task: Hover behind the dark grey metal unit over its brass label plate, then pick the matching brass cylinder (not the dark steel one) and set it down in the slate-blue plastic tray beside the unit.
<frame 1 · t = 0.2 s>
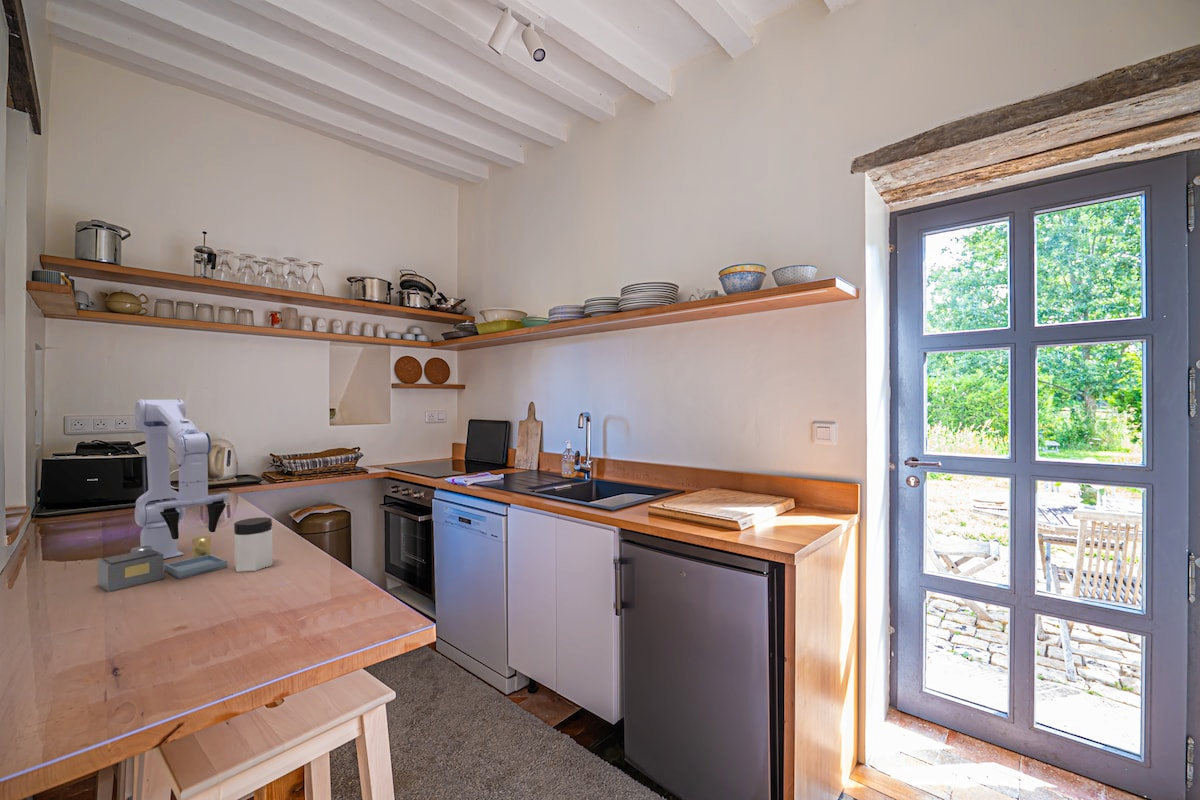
hand: (194, 535, 128), 10 cm above the counter, fingers open, 7 cm apart
part brass: (202, 560, 139), on the counter
tray: (196, 569, 131), on the counter
unit: (131, 581, 122), on the counter
part grey: (141, 571, 130), on the counter
jar: (253, 567, 133), on the counter
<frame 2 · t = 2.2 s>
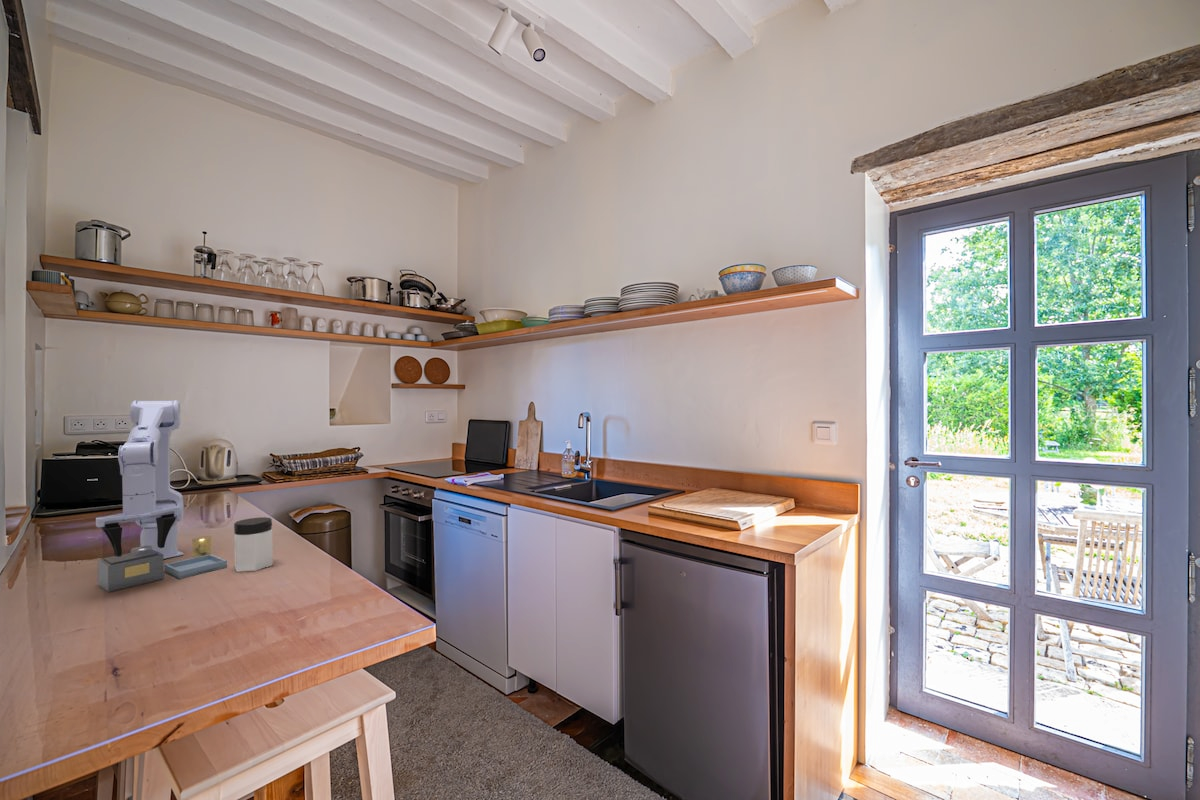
hand: (140, 551, 119), 8 cm above the counter, fingers open, 7 cm apart
nothing on the counter moved.
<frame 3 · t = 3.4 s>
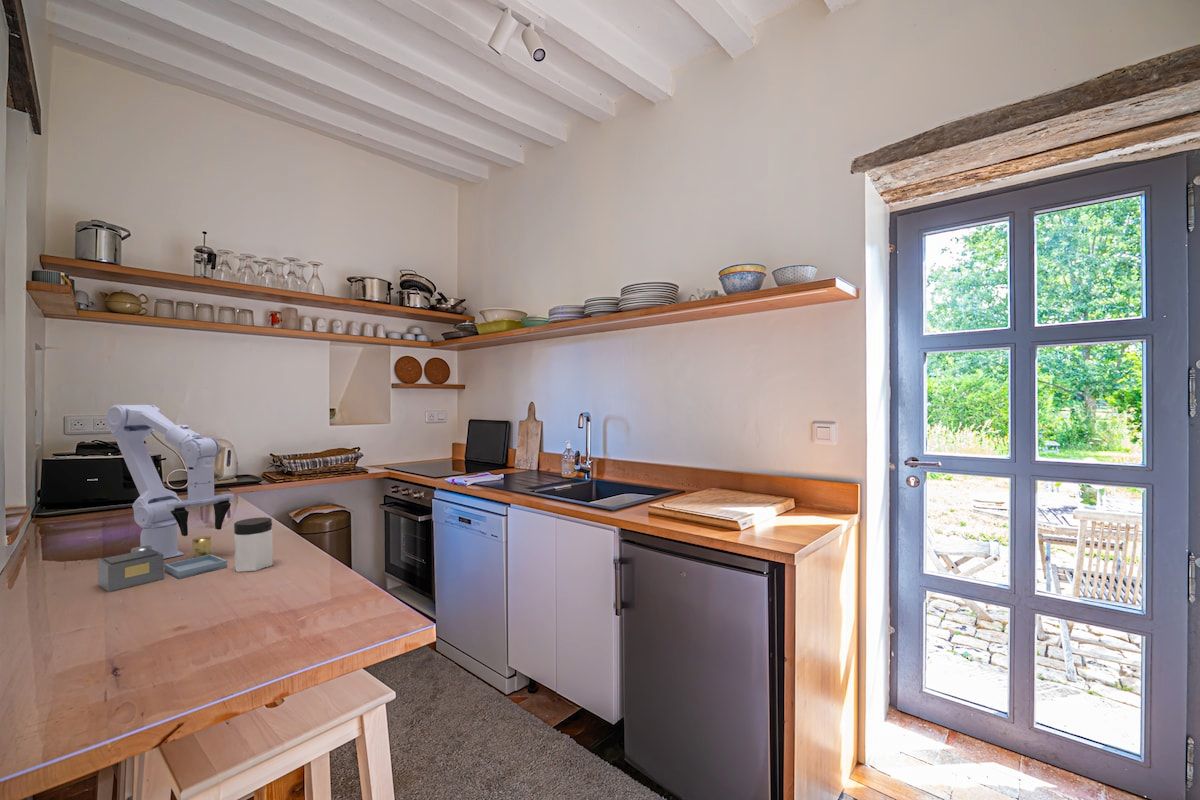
hand: (201, 532, 139), 8 cm above the counter, fingers open, 7 cm apart
nothing on the counter moved.
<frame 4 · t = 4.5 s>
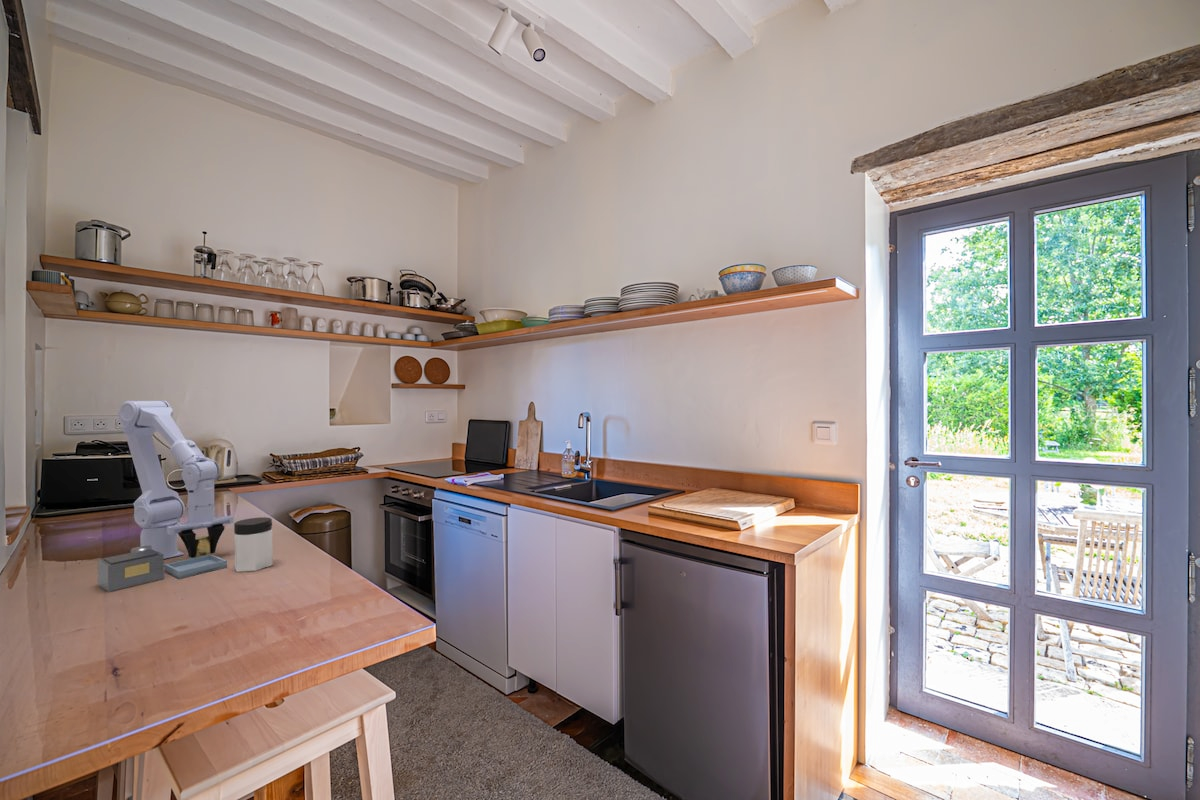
hand: (202, 554, 139), 1 cm above the counter, fingers closed on part brass, 4 cm apart
part brass: (202, 560, 139), on the counter, touching gripper
everything else where it was.
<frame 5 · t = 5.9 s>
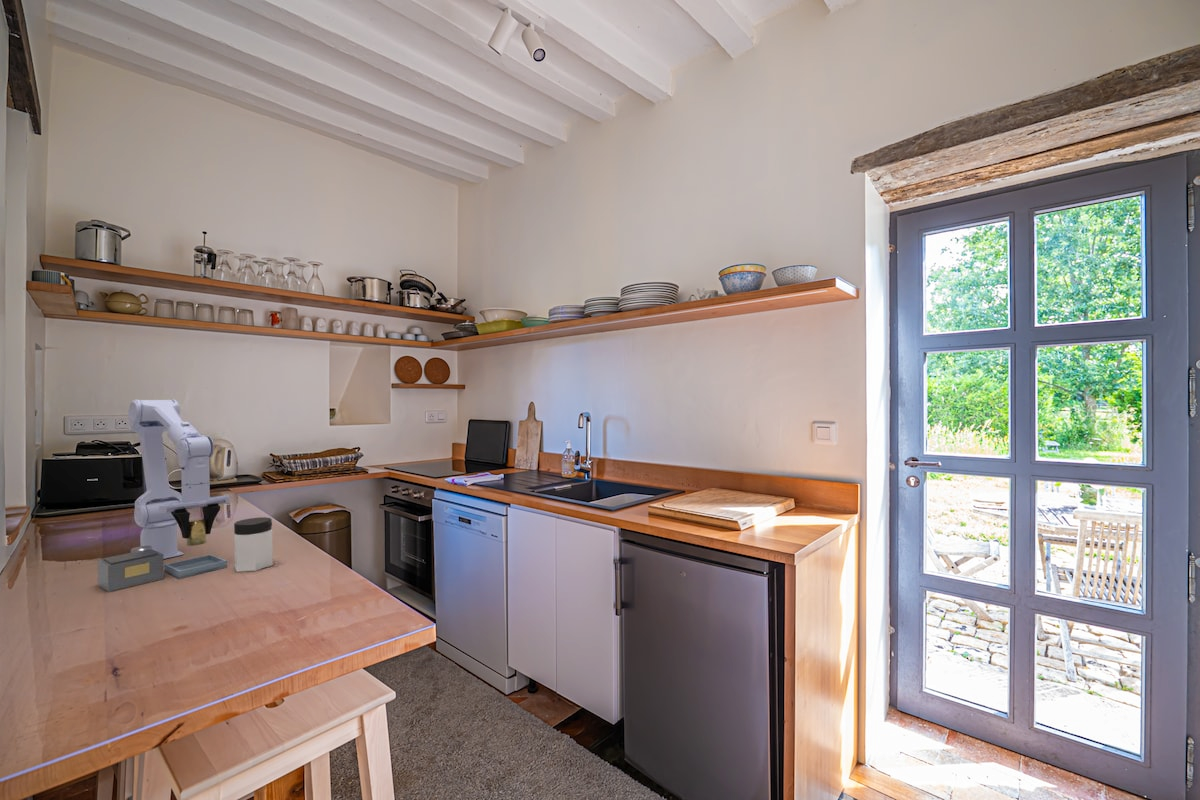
hand: (196, 535, 132), 8 cm above the counter, fingers closed on part brass, 4 cm apart
part brass: (196, 543, 132), point 6 cm above the counter, touching gripper
everything else where it was.
when the fingers open (4 cm above the counter, at t = 7.3 s): part brass drops 1 cm, resting on tray.
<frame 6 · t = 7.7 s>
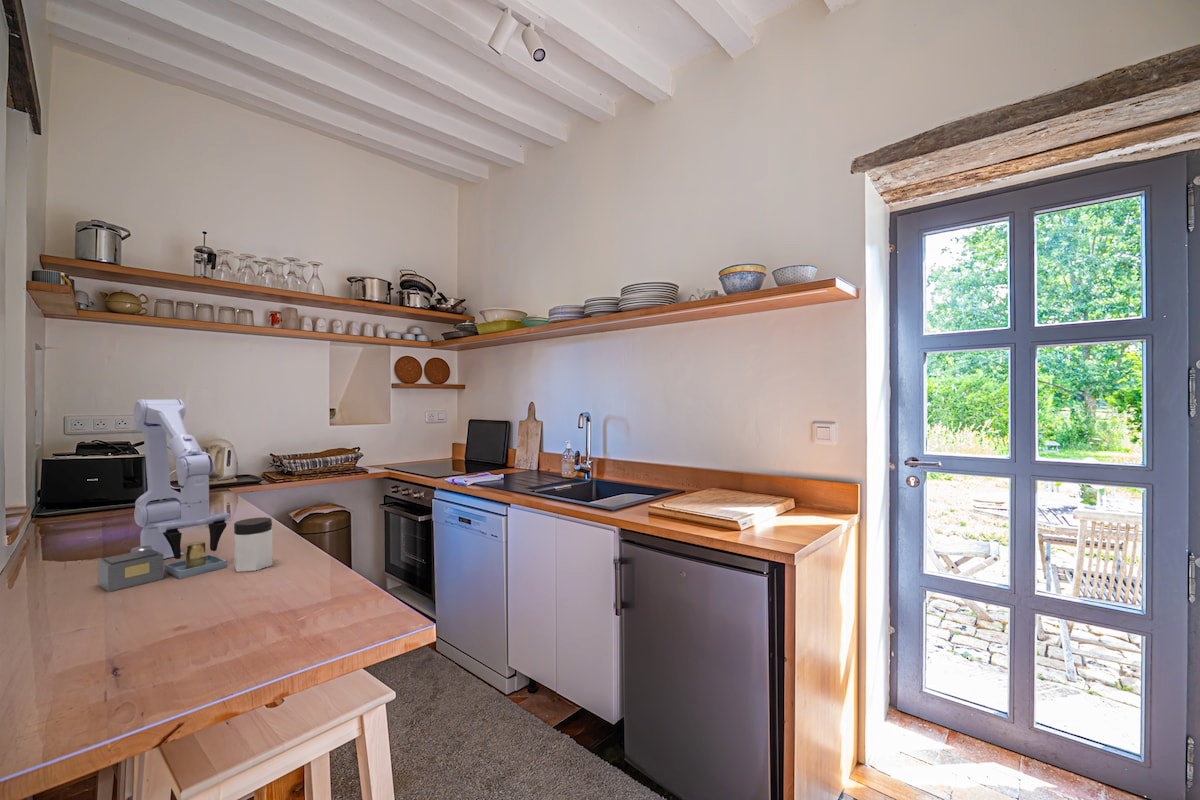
hand: (195, 554, 131), 4 cm above the counter, fingers open, 7 cm apart
part brass: (195, 567, 131), point 1 cm above the counter, touching tray
everything else where it was.
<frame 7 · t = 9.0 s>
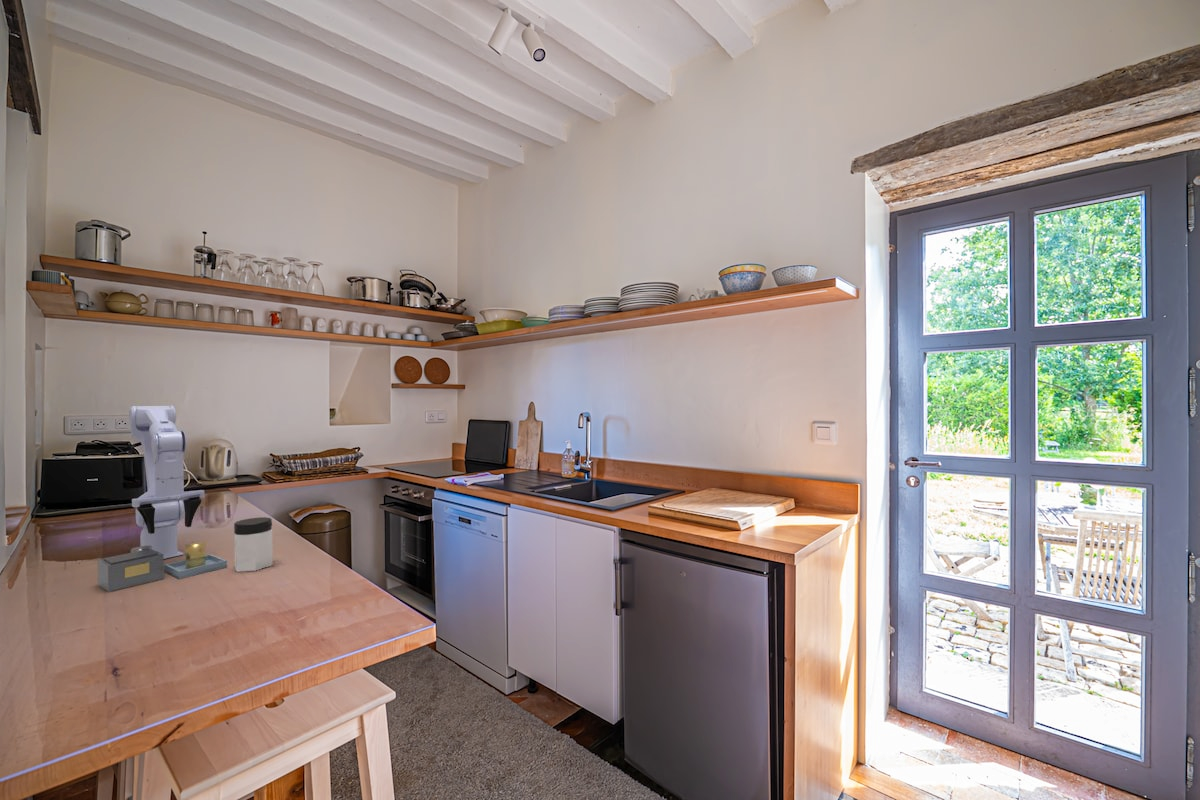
hand: (170, 529, 132), 10 cm above the counter, fingers open, 7 cm apart
nothing on the counter moved.
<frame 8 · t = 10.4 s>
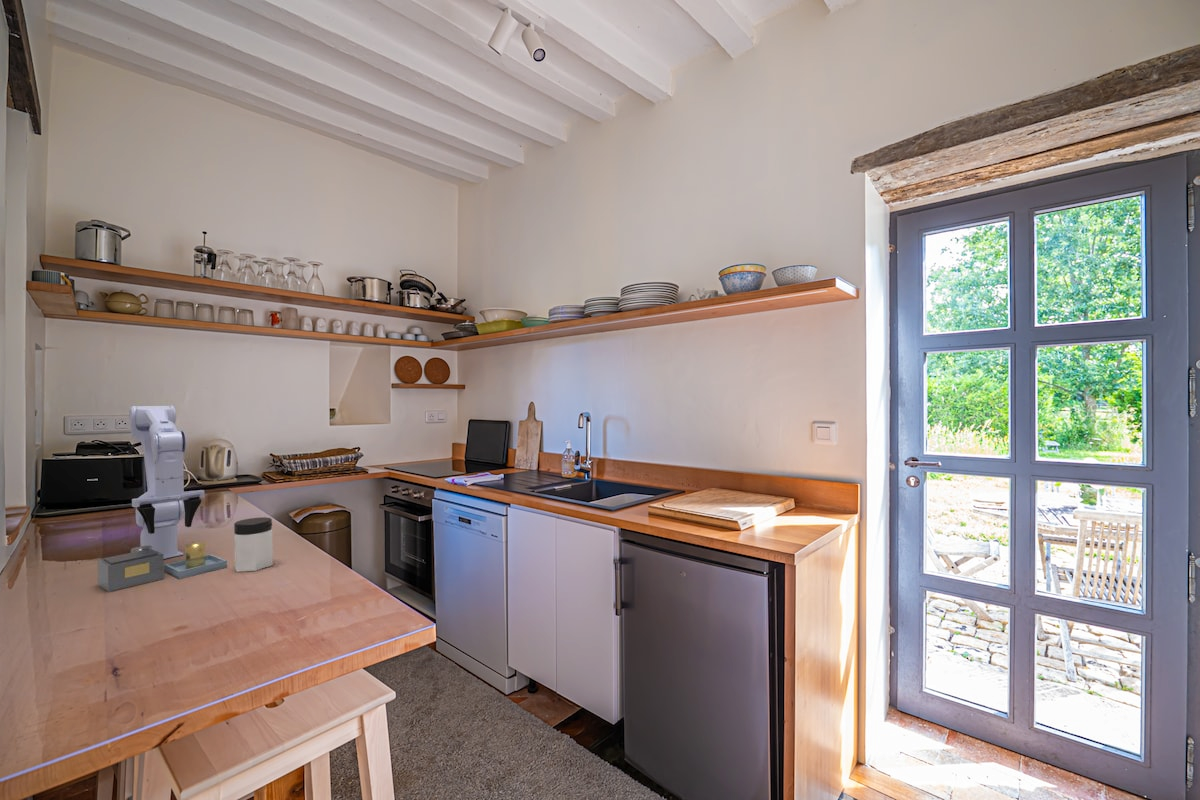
hand: (170, 529, 132), 10 cm above the counter, fingers open, 7 cm apart
nothing on the counter moved.
at the end: part brass inside the target area on the tray (0.0 cm from its centre), point 0.6 cm above the tray's base; part brass tilted 1°; the gripper is holding nothing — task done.
